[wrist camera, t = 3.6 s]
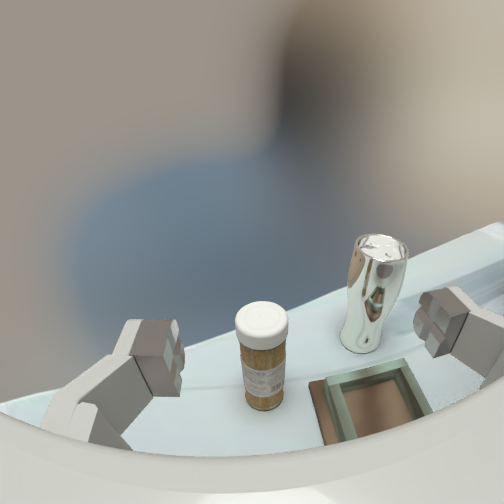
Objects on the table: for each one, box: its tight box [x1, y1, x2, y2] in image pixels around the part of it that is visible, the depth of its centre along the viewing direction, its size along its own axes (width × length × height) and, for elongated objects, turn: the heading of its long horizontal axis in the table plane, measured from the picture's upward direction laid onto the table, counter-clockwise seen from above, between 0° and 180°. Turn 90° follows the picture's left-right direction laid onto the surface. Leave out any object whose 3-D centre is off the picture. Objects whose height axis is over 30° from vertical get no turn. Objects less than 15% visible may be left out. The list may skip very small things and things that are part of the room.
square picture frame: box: [309, 358, 433, 446], centre depth 25 cm, size 13×13×4 cm
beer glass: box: [340, 234, 409, 353], centre depth 33 cm, size 7×7×15 cm
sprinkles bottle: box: [235, 301, 288, 410], centre depth 27 cm, size 5×5×13 cm
